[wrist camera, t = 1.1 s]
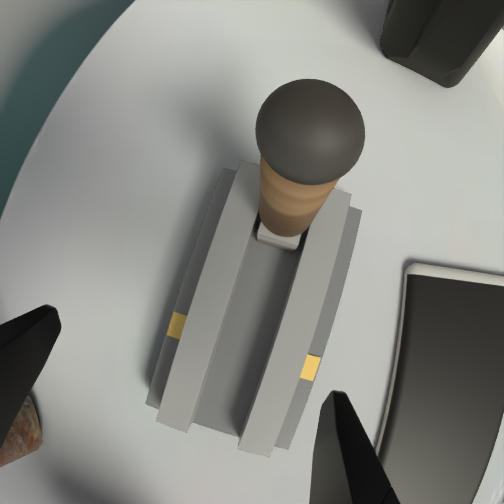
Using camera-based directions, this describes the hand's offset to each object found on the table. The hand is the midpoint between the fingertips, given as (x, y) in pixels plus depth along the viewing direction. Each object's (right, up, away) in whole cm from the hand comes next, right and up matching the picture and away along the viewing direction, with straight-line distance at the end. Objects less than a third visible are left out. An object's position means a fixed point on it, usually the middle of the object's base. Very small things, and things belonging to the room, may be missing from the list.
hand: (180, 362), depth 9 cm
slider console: (+2, -1, +13) cm, 13 cm away
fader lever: (+4, +5, +12) cm, 14 cm away
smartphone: (+18, -12, +12) cm, 25 cm away
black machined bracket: (+21, +28, +18) cm, 40 cm away
